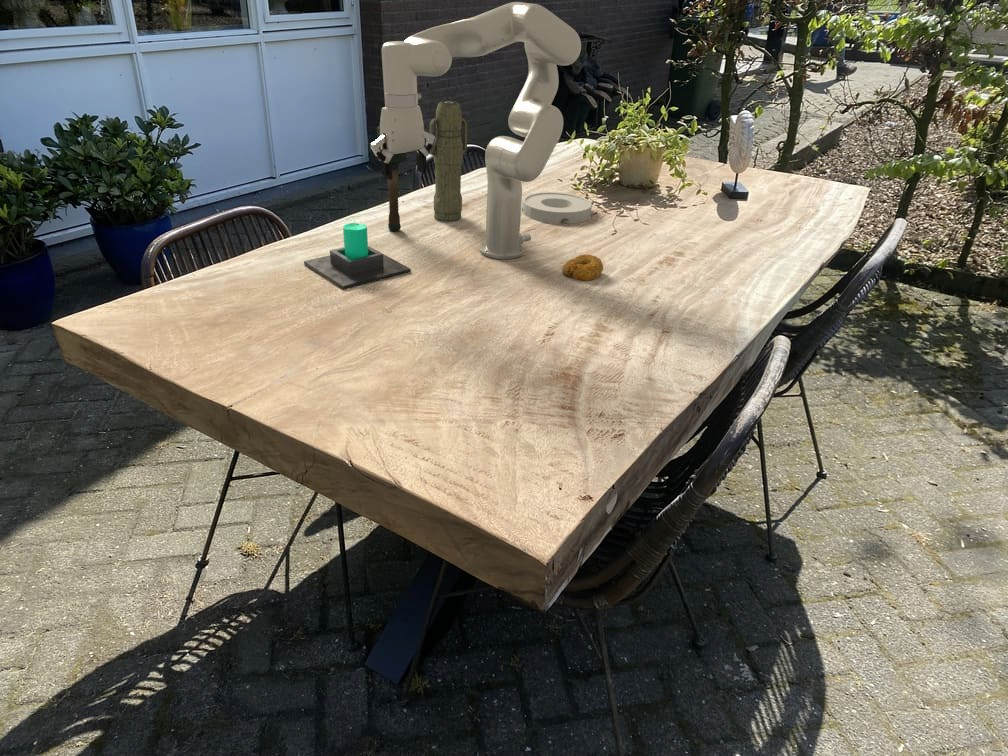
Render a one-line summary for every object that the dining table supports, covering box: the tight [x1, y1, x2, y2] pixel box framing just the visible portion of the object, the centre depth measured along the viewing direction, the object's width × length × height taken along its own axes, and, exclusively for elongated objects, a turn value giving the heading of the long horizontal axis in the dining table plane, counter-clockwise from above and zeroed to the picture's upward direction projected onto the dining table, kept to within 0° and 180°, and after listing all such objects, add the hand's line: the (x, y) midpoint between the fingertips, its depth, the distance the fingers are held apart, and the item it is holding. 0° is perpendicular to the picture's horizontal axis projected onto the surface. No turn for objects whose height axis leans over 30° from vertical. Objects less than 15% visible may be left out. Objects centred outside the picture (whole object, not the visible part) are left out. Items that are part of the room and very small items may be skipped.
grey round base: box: [521, 191, 593, 224], centre depth 235 cm, size 23×23×4 cm
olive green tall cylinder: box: [428, 100, 468, 223], centre depth 216 cm, size 9×12×35 cm
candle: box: [342, 220, 369, 260], centre depth 181 cm, size 6×6×12 cm
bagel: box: [561, 253, 604, 282], centre depth 188 cm, size 10×11×5 cm
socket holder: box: [303, 245, 412, 291], centre depth 184 cm, size 20×20×4 cm
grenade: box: [376, 125, 409, 233], centre depth 204 cm, size 8×9×30 cm
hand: (405, 175), depth 171 cm, fingers open, 9 cm apart
